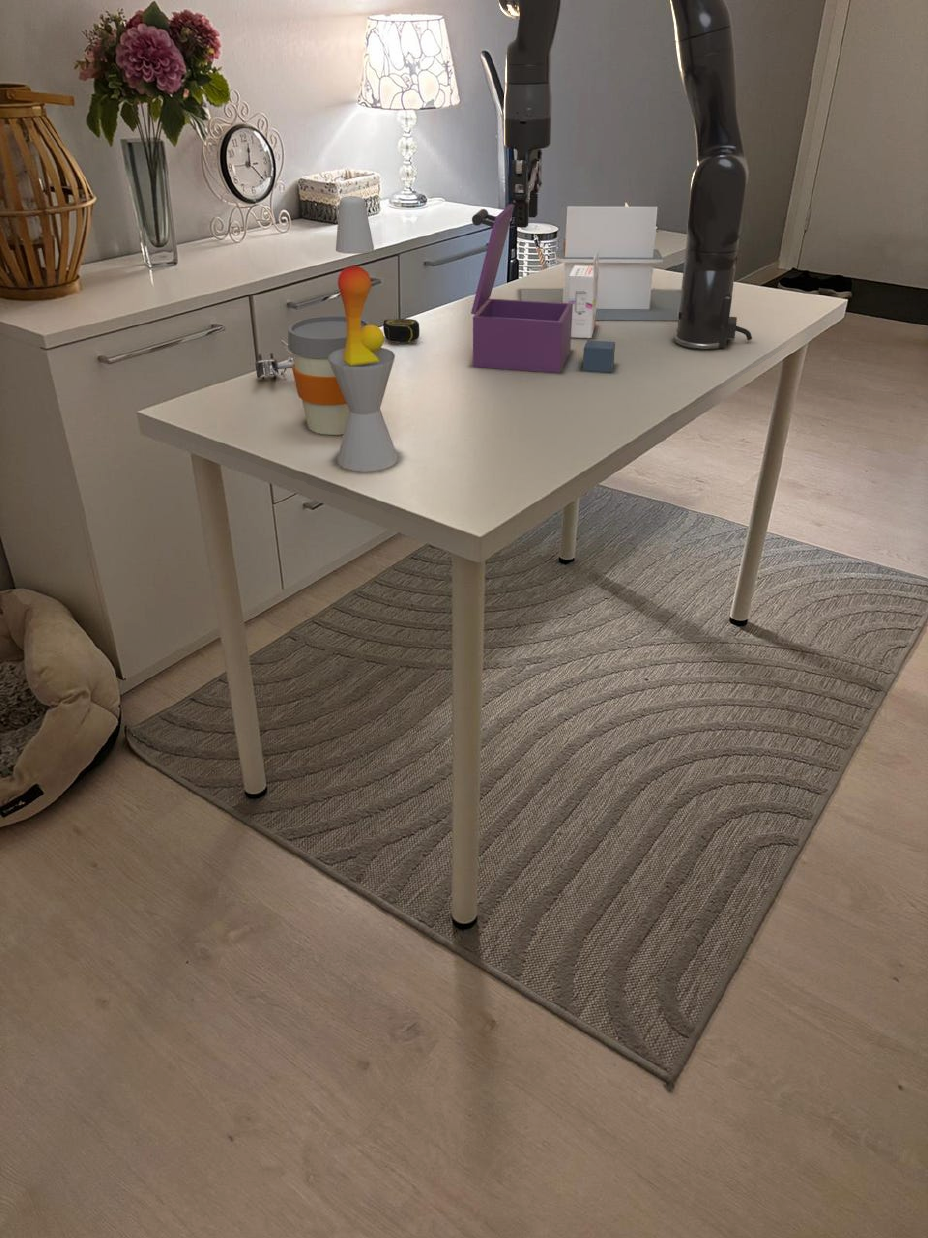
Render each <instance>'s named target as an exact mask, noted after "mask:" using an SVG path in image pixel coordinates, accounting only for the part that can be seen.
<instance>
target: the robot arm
mask: <svg viewBox="0 0 928 1238" xmlns="http://www.w3.org/2000/svg"><path fill="white" fill-rule="evenodd" d="M497 1H498V5H499V7H500V10H501V11H502V12H503V14H505V16H507V17H509V18H510V19H512V20H515V21H518V24H517V30H516V36H515V39H513V40H512V41H511V42H509V43H508V45H507V47H506V51H505V52H506V54H505V89H504V98H503V145H504V147H505V148H507V149H509V150H515V151H516V159H512V160H511V163H510V167H511V168H510V169H511V172H510V173H511V174H510V175H511V179H510V180H511V181H510V187H511V188H510V201H512V202H513V204H514V205H515V206H514V226H515V228H523V229H524V228H527V227H528V226H529V222H530V221H529V220H530V218H536V217H537V216H538V211H539V193H540V192H541V191H540V190H541V187H542V185H543V182H542V155H543V149H547V148H549V147H550V146H551V137H552V136H551V135H552V134H551V133H552V89H551V69H552V68H551V65H552V62H551V61H552V59H551V55H552V48H553V44H554V40H555V37H556V33H557V27H558V22H559V17H560V12H561V5H562V0H497ZM669 4H670V9H671V10H670V11H671V15H672V16H671V17H672V24H673V25H672V26H673V34H674V41H675V50H676V57H677V65H678V70H679V75H680V79H681V83H682V87H683V91H684V94H685V97H686V101H687V103H688V107H689V110H690V113H691V117H692V120H693V127H694V133H695V146H696V147H695V148H696V150H695V151H696V168H695V170H694V172H693V173H692V178H691V185H690V190H689V191H690V193H689V201H688V213H687V223H686V242H685V243H686V245H685V252H684V261H683V262H684V263H683V272H682V281H681V289H680V294H681V298H680V307H679V313H678V314H679V316H678V321H677V326H676V333H675V343H676V344H678V345H679V346H681V347H684V348H689V349H694V350H715V349H726V344H727V340H734V339H735V338H736V332H737V333H738V332H739V333H741V334H743V335H745V337H746V340H747V341H748V342H749V341H751V340H753V335H752V333H751V331H750V330H748V329H746V328H745V327H742V326H739V325H737V322H738V321H737V319H738V318H737V316H730V315H731V308H732V301H733V290H734V284H735V283H734V282H735V275H736V269H737V261H738V253H739V245H740V241H741V229H742V219H743V211H744V206H745V205H744V204H745V199H746V191H747V186H748V184H749V179H750V169H749V165H748V164H749V163H748V161H747V158H746V157H747V156H746V153H745V149H744V144H743V139H742V134H741V130H740V124H739V119H738V110H737V109H738V106H737V64H736V51H735V50H736V49H735V48H736V47H735V41H734V40H735V39H734V32H733V23H732V22H733V21H732V16H731V11H730V9H729V7H728V4H727V1H726V0H669ZM520 191H522V192H520Z"/></svg>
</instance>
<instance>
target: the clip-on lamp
mask: <svg viewBox="0 0 928 1238" xmlns="http://www.w3.org/2000/svg"><path fill="white" fill-rule="evenodd" d="M280 342H281V343H282V345H283V347H284V348H285V349H286V351H287V352H288V353H289V354H290V356H292V353H291V351H290V350H289V348H288V342H286V341H285V340H282V339H281V341H280ZM269 355H270V359H264V360H263V357H262V354H261V353H259V354H258V360H257V361H255V362H254V365H255V369H256V377H257V379H260V378H261V381H263V380H264V381H265V379H266V378H270V377H273V379H277V378H279V379H280V380H281V381H283V382H286V381H287V380H288V377H287V374H286V372H287V369H292V365H293V364H294V362H293V359H292V358H291V357H290V356H289V357H288V359H287V362H281V363H278V360H277V359H275V358H274V354H273V352H271V353H269ZM270 364H271V365H270ZM279 370H281V372H280V373H279ZM265 377H266V378H265Z"/></svg>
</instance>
